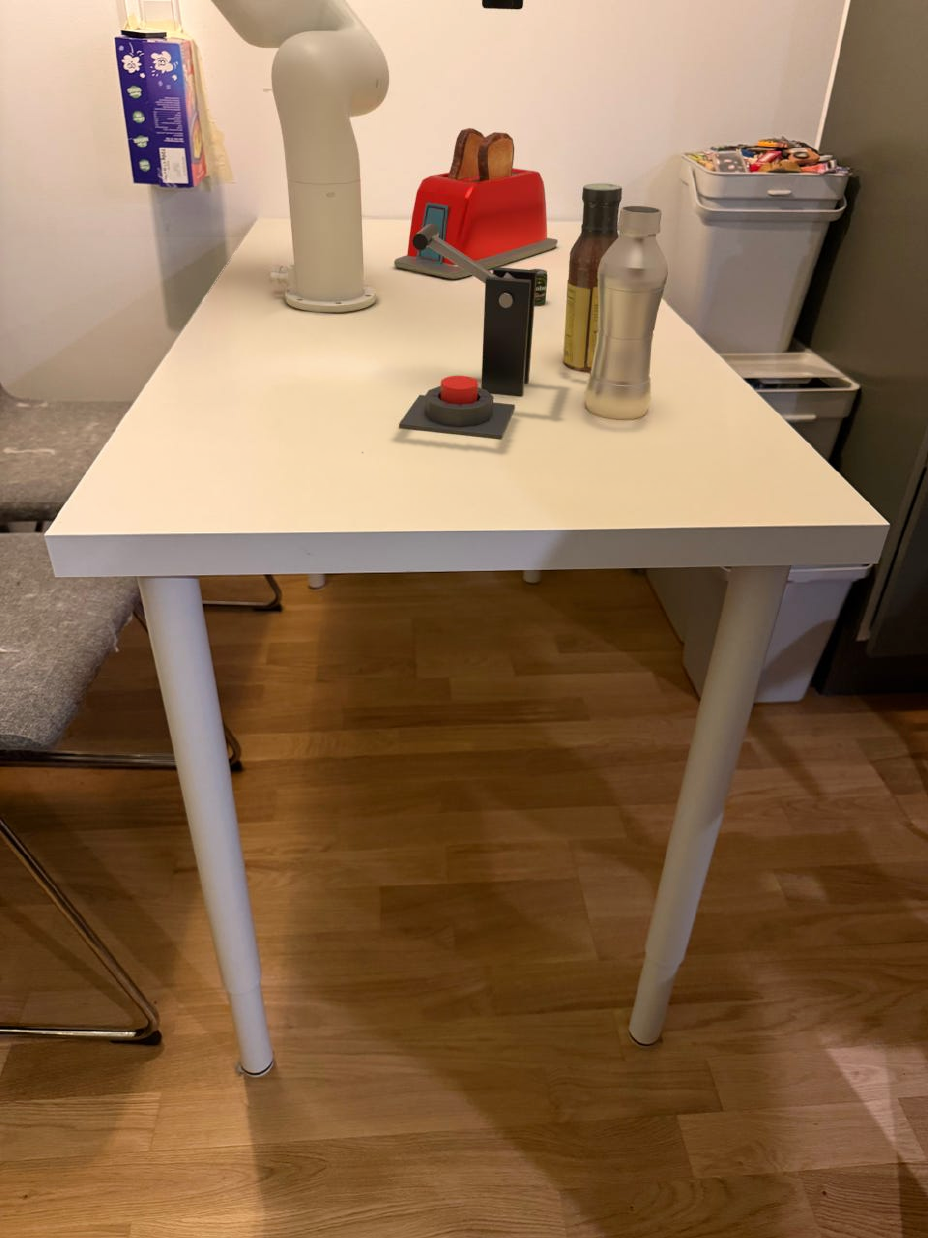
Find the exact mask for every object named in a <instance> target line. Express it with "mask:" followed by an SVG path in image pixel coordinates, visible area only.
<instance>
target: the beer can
mask: <svg viewBox="0 0 928 1238" xmlns="http://www.w3.org/2000/svg"><path fill="white" fill-rule="evenodd" d="M530 270H536V271H537V276H536V290H535V304H534V306H542V305H545V303H546V299H547V290H548V289H547V288H548V271H547V270H546V269H542V268H531V269H530Z"/></svg>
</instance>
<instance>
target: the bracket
mask: <svg viewBox="0 0 928 1238" xmlns="http://www.w3.org/2000/svg"><path fill="white" fill-rule="evenodd" d="M492 273H493V274H495V275H496V276H498V277H489V276H488V277H487V278H486V282H485V283H484V284H485V286H484V309H483V310H484V311H483V334H482V335H483V336H482V357H481V358H482V360H481V382H480V384H481V385H480V388H482V389H484V390H487V391H488V392H489V393H490V394H491V395H502V396H510V397H518V398H522V397H523V395H524V392H525V384H526V385H528V384H529V381H530V371H531V358H532V344H533V330H534V317H535V305H534V304H535V290H536V276H537V271H536V270H531V269H525V268H512V267H501V266H497V267H494V268H492ZM506 273H509V274H510V275H512V276H513V277H515V278H516V279H513V278H503V277H504V276H505V274H506Z"/></svg>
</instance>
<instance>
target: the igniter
mask: <svg viewBox="0 0 928 1238" xmlns="http://www.w3.org/2000/svg"><path fill="white" fill-rule="evenodd" d="M515 409H516V404H512V403H503V402H495V401H494V395H493V394H490V393H489V392H488V391H487V390H484V389H482V388H481V387H479V386H478V398H477V402H474V403H472V404H462V405H459V404H450V403H447V402H444V401H441V385H439V386H436V387H434V388H433V387H432V388H431V389H428V390H427V392H426V393H425V394H419V395H418V396H417V398H416V399H415V400H414V402H413V403H412V405H411V406H410V408H409V409H408V410H407V412H406V413H405V415H404V416H403V417H402V419H401V420H400V422H399V423H398V428H399V429H402V430H413V431H420V432H429V433H430V432H431V433H438V434H439V433H440V434H447V435H457V436H464V437H474V438H484V439H493V440H502V439H503V438H504V435H505V433H506V431H507V427H508V425H509V423H510V421H511V419H512V416H513V415H514V412H515Z"/></svg>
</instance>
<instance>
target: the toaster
mask: <svg viewBox="0 0 928 1238" xmlns="http://www.w3.org/2000/svg"><path fill="white" fill-rule="evenodd" d="M455 140H456V141H455V145H454V149H453V157H452V163H451V166H450V169H449V172H444V173H438V174H434V175H429V176H427V177H425V178H423V179H422V180H421V182H420V184H419V186H418V188H417V190H416V194H415V198H414V199H415V200H414V203H413V210H412V214H411V215H412V216H411V222H410V228H409V237H408V245H407V253H406V254H407V255H404V256H401V257H398V258H396V259H395V260H394V261H393V262H394V263H393V264H394V267H396V268H398V269H401V270H407V271H412V272H416V273H421V274H425V275H429V276H433V277H435V276H436V277H439V278H443V279H444V278H445V279H450V280H455V279H461V278H465V277H469V276H472V275H471V274H470V273H468V272H467V271H465V270H464V269H462V268H461V267H459V266H457V265H456V264H454V263H453V262H451V261H450V260H448V259H447V258H445V257H444V256H442V255H441V254H439V253H438V252H436V251H435V250H433V249H432V248H430V247H429V246H428V247H427V248H426V249H424V250H422V251H420V250H417V249H415V248H414V246H413V244H412V239H413V237H414V236H415V235H416V234H417V233H418V232H419V231H421V230H422V229H423V228H424V227H426V226H427V225H428V224H435V225H436V226H437V227H438V229H439V236H438V237H439V238H440V239H442V240H443V241H445V242H446V243H448V244H449V245H451V246H452V247H454V248H455V249H457V250H458V251H460V252H461V253H463V254H464V255H466V256H467V257H469V258H470V259H472V260H473V261H475V262H476V263H478V264H479V265H481V266H482V267H484V268H485V269H487V270H488V271H489V270H491V269H494V268H495V267H501V266H503V265H507V264H510V263H513V262H516V261H519V260H522V259H526V258H528V257H531V256H534V255H537V254H540V253H544V252H546V251H550V250H551V249H554V248H556V247H557V246H558V243H559V240H558V239H557V238H551V237H548V221H547V220H548V217H547V199H546V189H545V182H544V180H543V178H542V175H541V173H540V172H538V171H535V170H529V169H521V168H514V162H515V161H514V160H515V143H514V139H513V138H512V137H511V136H510V135H509V134H508V133H507V132H491V133H490V134H488V135H487V136H485V135H484V134H483V133H482V132H481V131H479V130H477V129H475V128H473V127H468V128H463V129H461V130H460V132H459V133H458V135H457V137H456V139H455Z"/></svg>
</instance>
